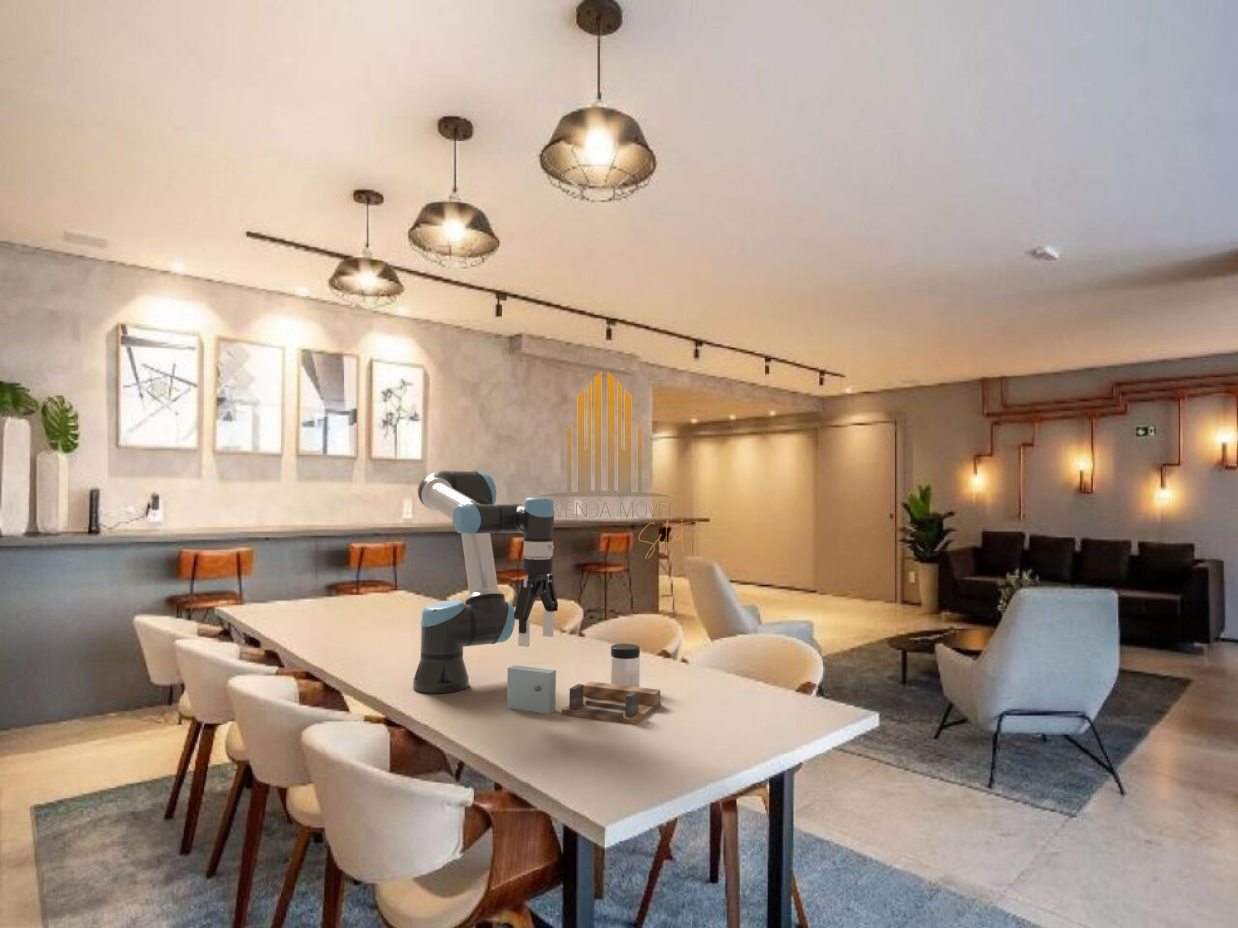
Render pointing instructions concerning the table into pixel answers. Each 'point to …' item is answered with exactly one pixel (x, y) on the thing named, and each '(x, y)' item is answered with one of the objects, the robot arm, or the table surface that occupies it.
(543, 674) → the door
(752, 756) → the table surface
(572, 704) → the brown piece
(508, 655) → the table surface
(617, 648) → the jar
